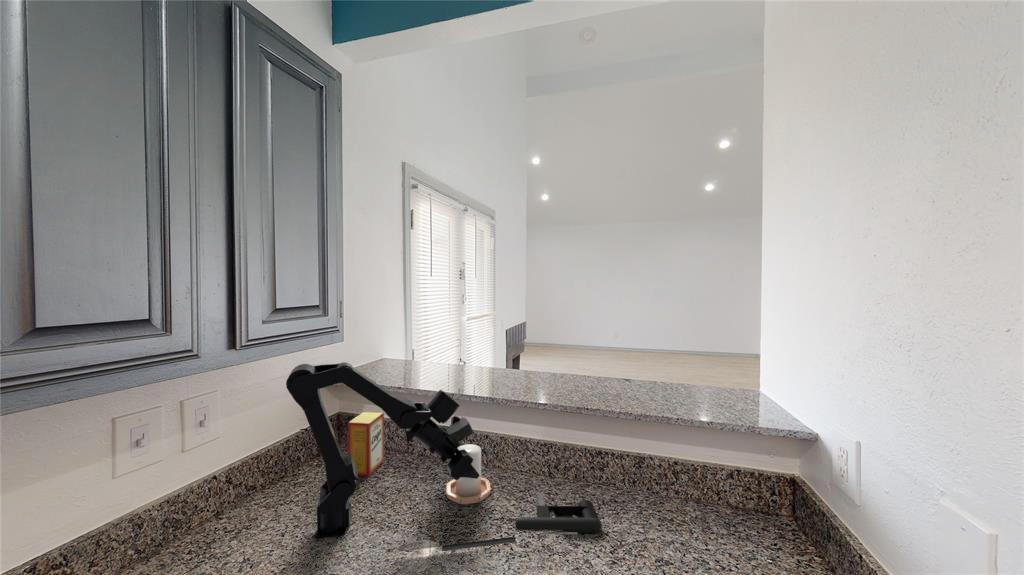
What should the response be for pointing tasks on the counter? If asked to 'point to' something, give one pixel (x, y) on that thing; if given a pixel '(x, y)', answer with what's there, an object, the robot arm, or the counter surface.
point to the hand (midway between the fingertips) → (473, 469)
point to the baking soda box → (366, 441)
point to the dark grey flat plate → (478, 543)
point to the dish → (467, 500)
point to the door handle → (563, 518)
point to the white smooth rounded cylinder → (470, 485)
